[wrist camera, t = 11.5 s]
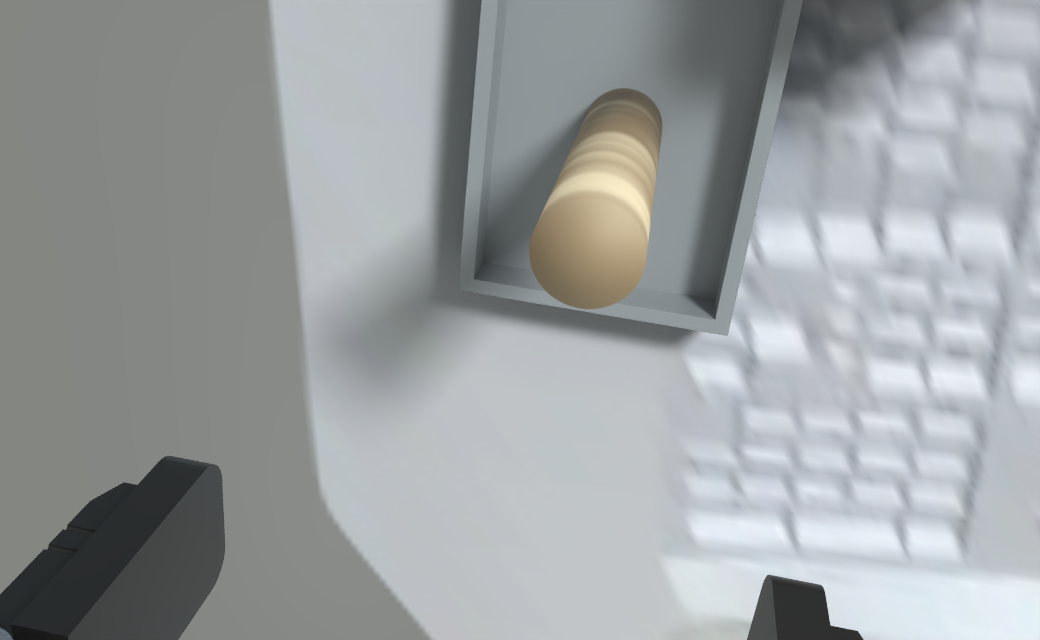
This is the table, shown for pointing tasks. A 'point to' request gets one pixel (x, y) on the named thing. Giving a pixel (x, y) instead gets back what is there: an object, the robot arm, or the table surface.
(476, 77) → the grey tray
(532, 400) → the table surface
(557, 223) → the birch dowel
